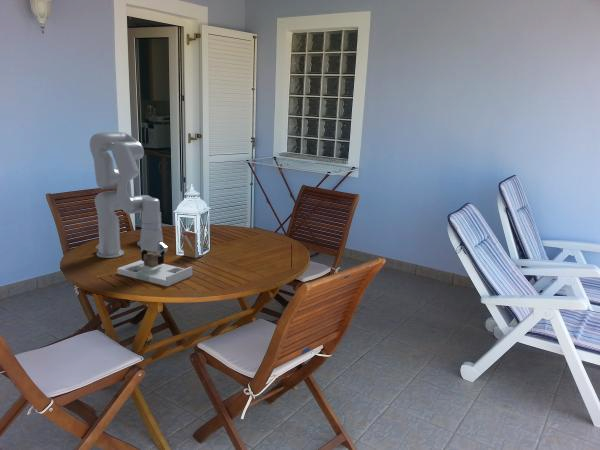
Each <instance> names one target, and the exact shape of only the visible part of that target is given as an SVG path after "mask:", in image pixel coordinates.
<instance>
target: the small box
mask: <svg viewBox="0 0 600 450" xmlns="http://www.w3.org/2000/svg"><path fill="white" fill-rule="evenodd" d="M183 231H184V230H183ZM182 239H183V240H182V243H183V244H182V247H183V248H182V249H183V251H182V252H184V255H183V256H185V257H190V258H193V259H197V258H200V257H201V256H200V255H199V252H198V247H197V245H198V243H197V234H196V233H195V232H192V231H184V233H183V232H182ZM200 241H201V243H200V246H201V254H202V256H204V230H201V236H200ZM199 256H200V257H199Z"/></svg>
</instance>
